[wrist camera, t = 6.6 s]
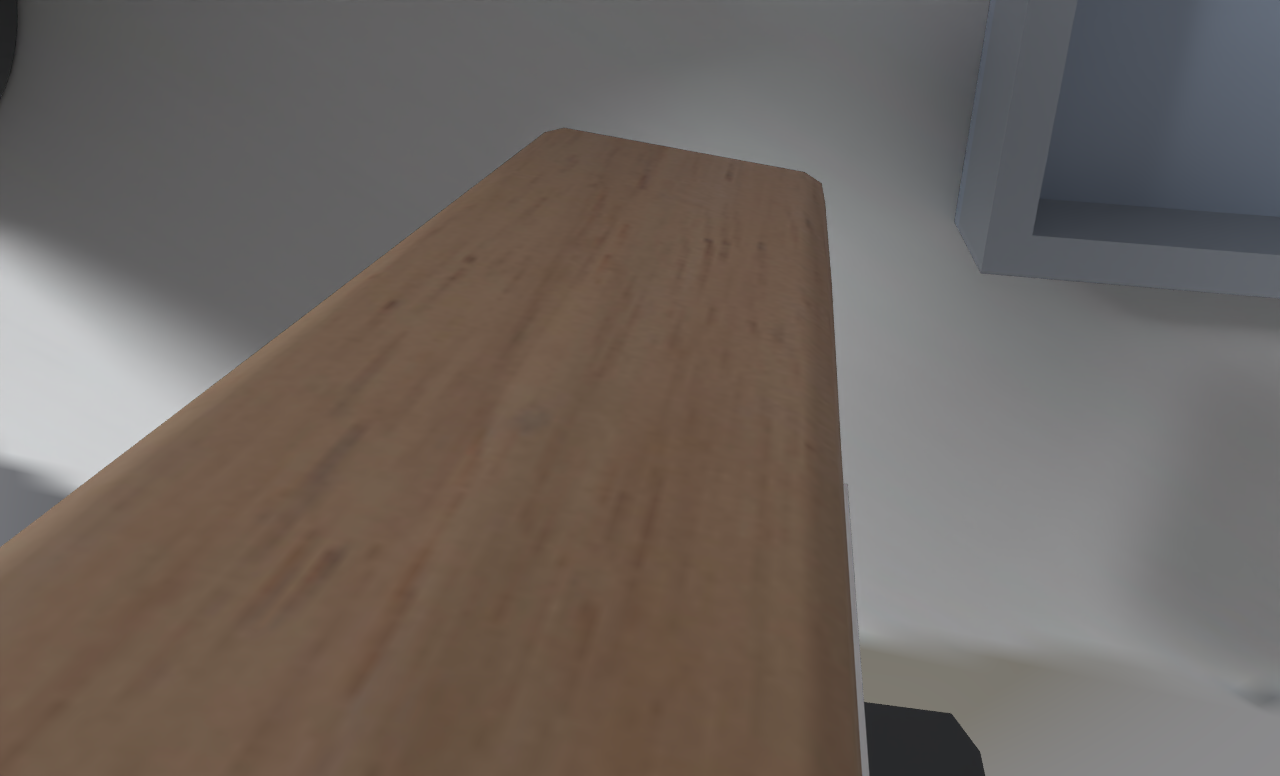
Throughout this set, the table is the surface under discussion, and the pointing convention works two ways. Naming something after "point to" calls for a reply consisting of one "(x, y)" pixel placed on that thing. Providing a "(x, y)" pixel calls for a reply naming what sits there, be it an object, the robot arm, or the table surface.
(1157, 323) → the table surface
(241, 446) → the wooden block
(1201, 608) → the table surface
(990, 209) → the open-top box
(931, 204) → the table surface
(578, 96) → the table surface
